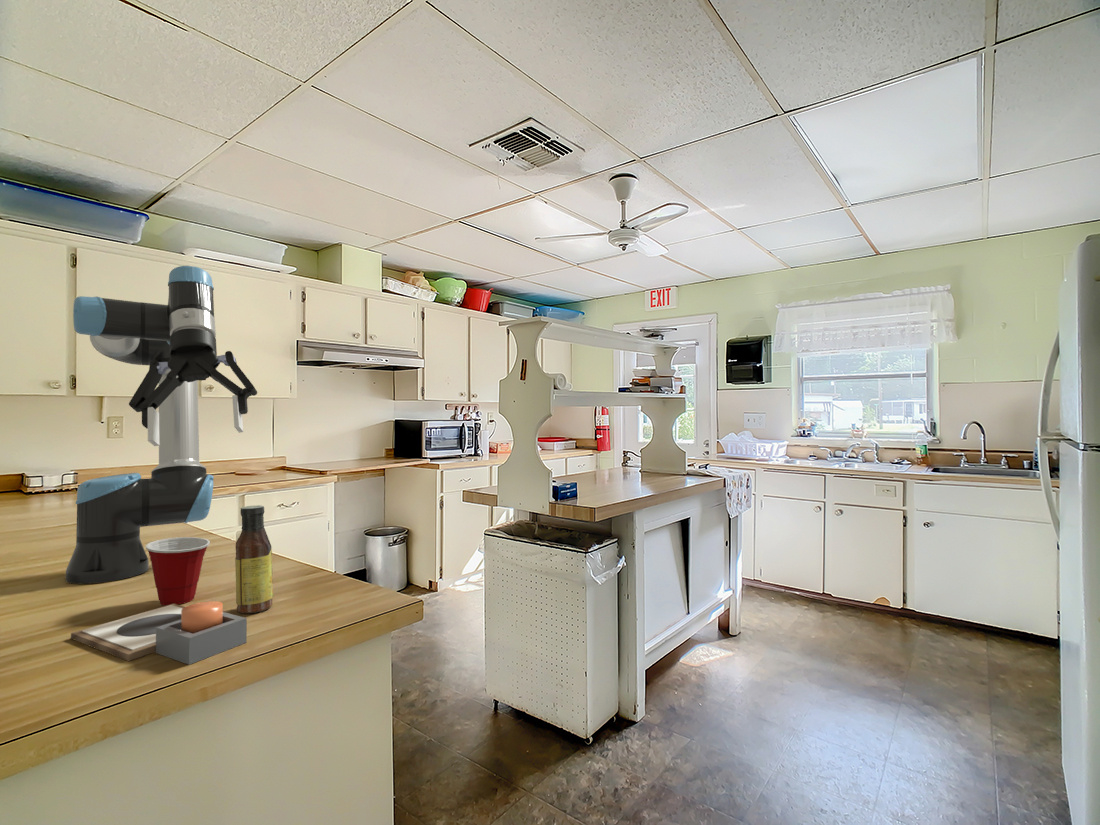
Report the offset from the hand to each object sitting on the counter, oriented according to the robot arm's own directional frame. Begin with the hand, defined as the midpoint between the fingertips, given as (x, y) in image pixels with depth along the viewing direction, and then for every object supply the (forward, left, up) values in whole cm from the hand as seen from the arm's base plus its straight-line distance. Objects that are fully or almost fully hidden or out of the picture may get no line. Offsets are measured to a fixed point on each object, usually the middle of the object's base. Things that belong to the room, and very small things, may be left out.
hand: (197, 436), depth 97 cm
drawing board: (-3, -5, -34) cm, 34 cm away
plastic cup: (-16, +6, -34) cm, 38 cm away
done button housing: (+11, -5, -34) cm, 36 cm away
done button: (+11, -5, -31) cm, 33 cm away
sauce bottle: (+2, +10, -34) cm, 35 cm away
